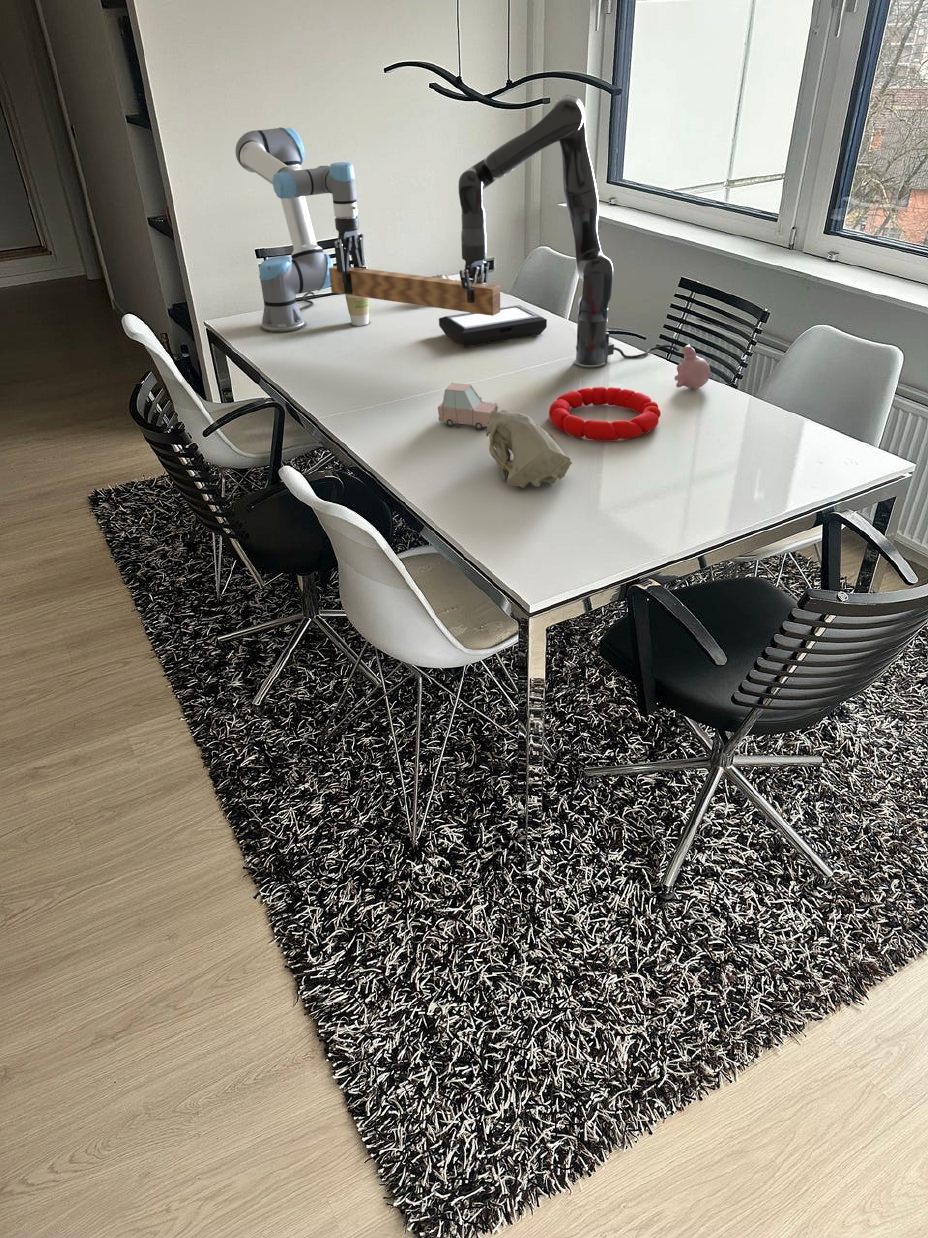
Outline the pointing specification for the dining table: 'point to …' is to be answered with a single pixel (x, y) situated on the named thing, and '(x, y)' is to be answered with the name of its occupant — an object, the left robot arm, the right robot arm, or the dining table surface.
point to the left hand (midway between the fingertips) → (353, 291)
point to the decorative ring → (604, 428)
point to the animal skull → (525, 450)
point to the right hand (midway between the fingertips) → (475, 300)
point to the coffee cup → (358, 309)
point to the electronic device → (493, 326)
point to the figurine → (692, 370)
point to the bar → (418, 290)
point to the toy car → (465, 406)
